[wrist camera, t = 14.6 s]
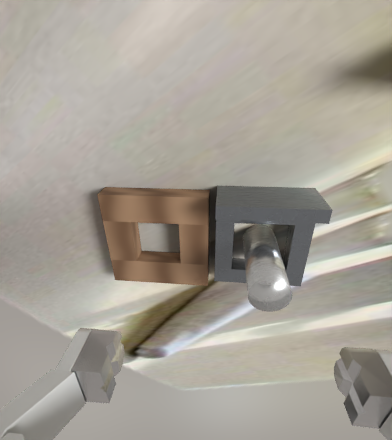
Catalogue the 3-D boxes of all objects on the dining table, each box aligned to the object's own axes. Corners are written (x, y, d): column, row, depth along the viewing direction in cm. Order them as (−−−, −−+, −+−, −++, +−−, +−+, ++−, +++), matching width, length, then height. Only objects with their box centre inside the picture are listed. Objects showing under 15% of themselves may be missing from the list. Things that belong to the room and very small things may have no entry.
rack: (215, 269, 40) (213, 298, 35) (217, 185, 33) (215, 206, 28) (296, 274, 39) (307, 305, 33) (315, 188, 32) (332, 210, 27)
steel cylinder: (241, 250, 38) (246, 309, 28) (244, 223, 36) (250, 278, 26) (272, 251, 37) (288, 312, 28) (277, 225, 35) (295, 281, 26)
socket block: (121, 269, 42) (115, 279, 40) (105, 187, 35) (97, 194, 33) (208, 274, 40) (207, 285, 38) (209, 190, 34) (208, 197, 32)
